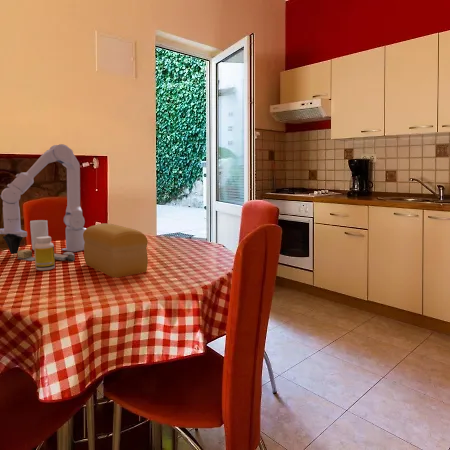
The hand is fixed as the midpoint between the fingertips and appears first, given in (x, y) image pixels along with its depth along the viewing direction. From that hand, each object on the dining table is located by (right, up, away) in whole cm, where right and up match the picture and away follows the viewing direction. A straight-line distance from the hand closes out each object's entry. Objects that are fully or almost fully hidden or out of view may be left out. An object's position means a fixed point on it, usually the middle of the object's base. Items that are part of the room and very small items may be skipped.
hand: (14, 253), depth 155 cm
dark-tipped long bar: (+18, -2, -2) cm, 18 cm away
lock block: (+6, -2, -3) cm, 7 cm away
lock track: (+8, -2, -4) cm, 9 cm away
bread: (+44, -4, -16) cm, 47 cm away
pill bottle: (+20, -4, -18) cm, 27 cm away
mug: (+3, +1, +16) cm, 17 cm away
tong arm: (+17, -2, -4) cm, 17 cm away
